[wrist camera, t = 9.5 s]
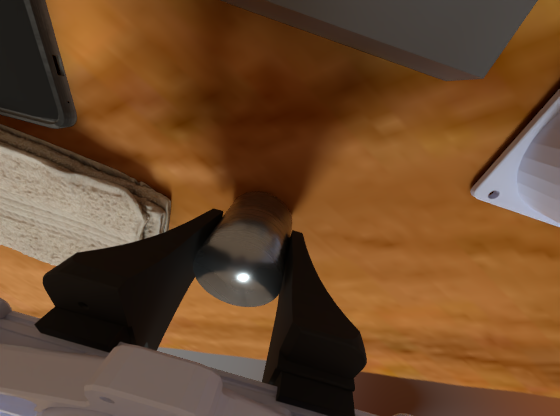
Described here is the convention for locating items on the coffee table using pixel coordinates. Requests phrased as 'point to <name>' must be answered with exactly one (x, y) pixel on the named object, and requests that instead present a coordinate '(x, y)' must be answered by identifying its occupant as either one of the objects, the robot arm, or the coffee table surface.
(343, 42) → the scale
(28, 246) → the washcloth
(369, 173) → the coffee table surface
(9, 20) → the phone
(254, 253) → the cylinder
